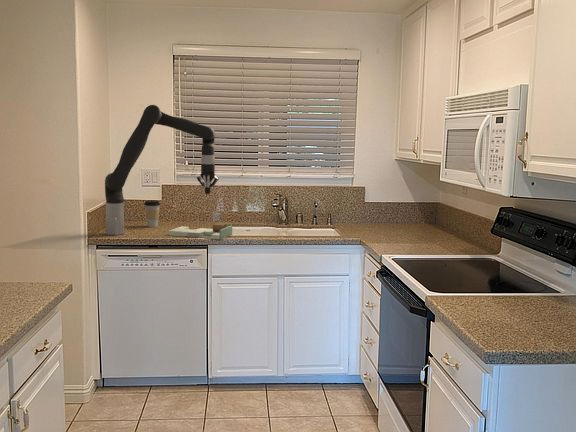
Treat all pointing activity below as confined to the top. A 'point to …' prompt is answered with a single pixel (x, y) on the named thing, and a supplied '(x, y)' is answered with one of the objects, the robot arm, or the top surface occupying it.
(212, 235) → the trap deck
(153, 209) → the coffee cup
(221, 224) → the walnut block
